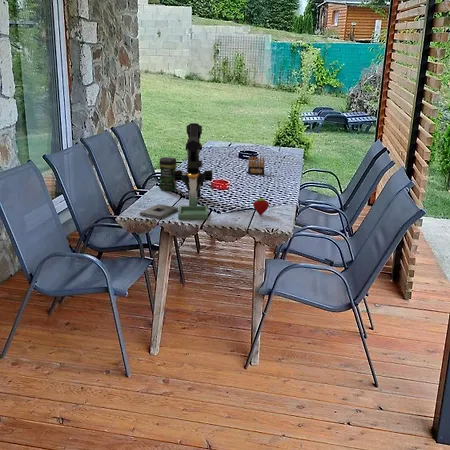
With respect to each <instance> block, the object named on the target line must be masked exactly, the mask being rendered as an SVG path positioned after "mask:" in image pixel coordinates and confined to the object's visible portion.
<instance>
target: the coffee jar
mask: <svg viewBox="0 0 450 450" xmlns="http://www.w3.org/2000/svg"><path fill="white" fill-rule="evenodd" d="M158 164H159V165H158V166H159V169H160V177H159V178H160V179H159V189H160V190H161V191H167V192H170V191H171V192H172V191H176V190H177V189H178V184H177V182H178V181H175V180H174V171H175V170H177V165H178V163H177V158H176V157H167V156H163V157H161V158H159V163H158Z"/></svg>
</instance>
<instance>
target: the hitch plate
mask: <svg viewBox="0 0 450 450" xmlns="http://www.w3.org/2000/svg"><path fill="white" fill-rule="evenodd" d="M177 212H179V207H177V206H170V205H165V204H160V203H159V204H155V205H153V206H151V207H149V208H146V209H144V210H141V211H139V216H141V215H145V216H144V217H146V216H150V217H149V218H152V217H154V218H153V219H157V218H159V219H158V220H161V219H163V218H166V217H167V216H170V215H172V214H173V213H177Z"/></svg>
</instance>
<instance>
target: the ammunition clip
mask: <svg viewBox="0 0 450 450" xmlns="http://www.w3.org/2000/svg"><path fill="white" fill-rule="evenodd" d="M247 162H248V163H247V165H248V166H247V175H254V176H255V175H256V176H265V164H266V163H265V156H262V155H261V156H260V157H259V156H257V157H256V155H254V156H253V155H252V156H250V155H249V157H248V161H247Z"/></svg>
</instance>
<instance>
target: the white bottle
mask: <svg viewBox="0 0 450 450" xmlns="http://www.w3.org/2000/svg"><path fill="white" fill-rule="evenodd" d="M188 177H189V197H188V206H189V207H193V208H194V207H197V206H198V198H197V177H198V173H188Z"/></svg>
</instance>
